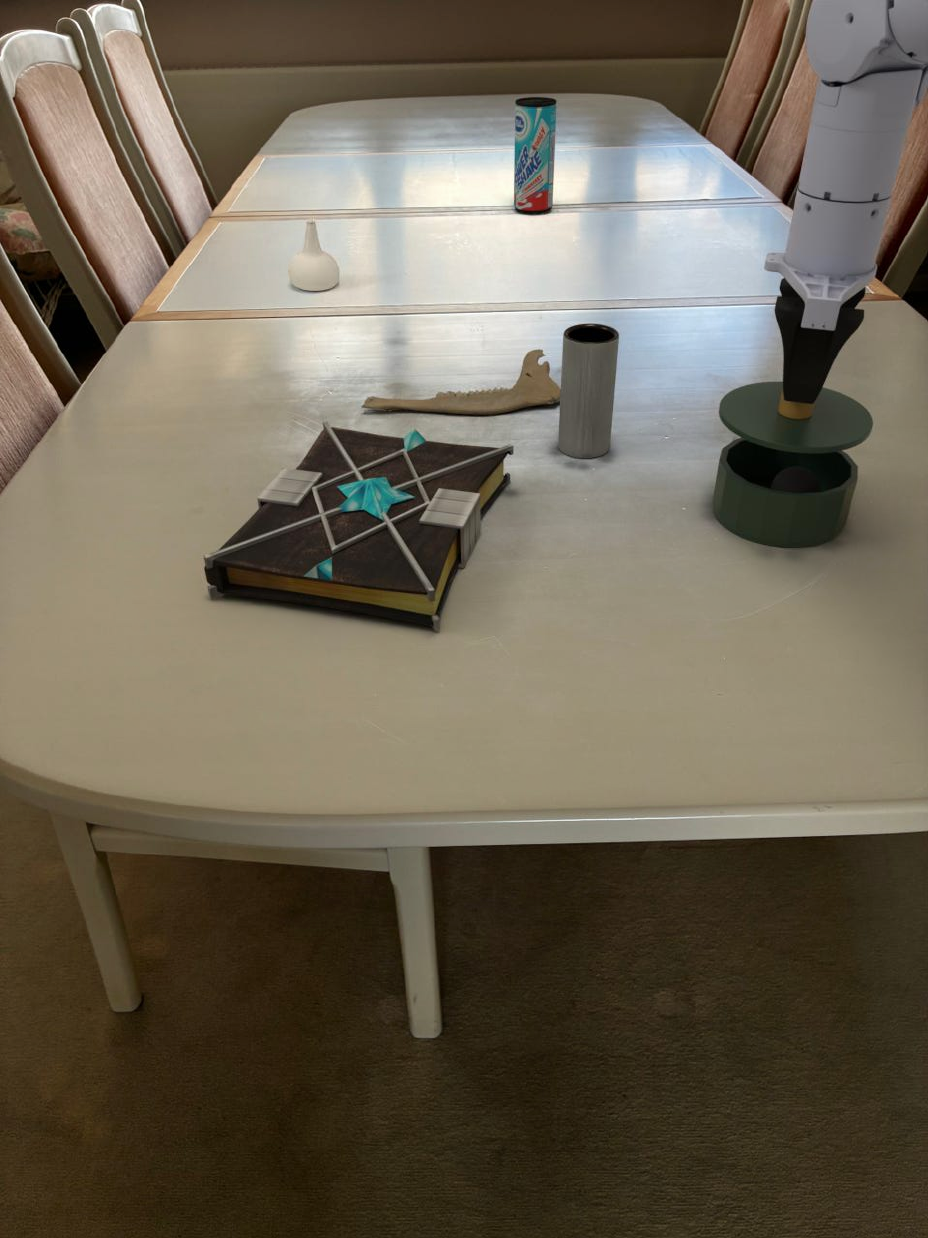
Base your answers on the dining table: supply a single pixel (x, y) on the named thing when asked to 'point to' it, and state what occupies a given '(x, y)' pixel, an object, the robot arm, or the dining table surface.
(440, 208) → the dining table surface
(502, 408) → the jawbone
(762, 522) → the tin
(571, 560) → the dining table surface
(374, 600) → the book
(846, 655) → the dining table surface
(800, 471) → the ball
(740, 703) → the dining table surface
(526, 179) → the beverage can
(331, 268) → the garlic bulb
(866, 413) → the lid
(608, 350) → the planter
